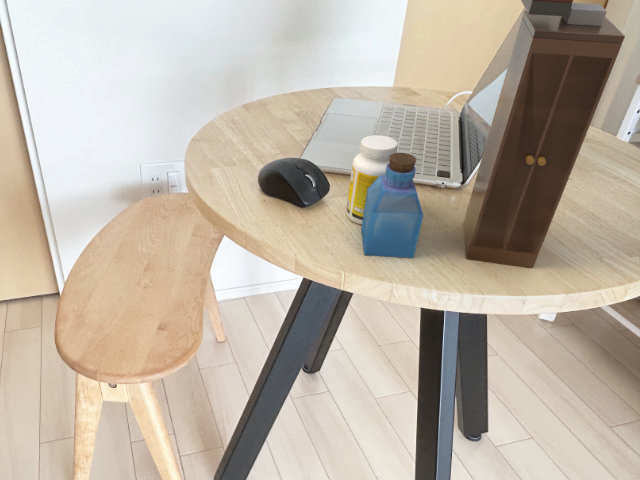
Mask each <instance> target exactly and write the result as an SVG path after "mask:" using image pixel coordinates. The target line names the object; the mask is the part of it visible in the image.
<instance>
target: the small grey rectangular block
mask: <svg viewBox="0 0 640 480" xmlns="http://www.w3.org/2000/svg"><path fill="white" fill-rule="evenodd" d="M607 12H608V10H606V9H605V8H604V7H603V6H602V5H601V4H598V3H583V2H582V3H581V2H572V6H571V9H570V12H569V15H568V16H562V18H563V20H564V21H565V22H566V23H567V24H572V25H588V26H602V23H603V20H604V18H605V17H606V14H607Z"/></svg>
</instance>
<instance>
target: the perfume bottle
mask: <svg viewBox="0 0 640 480" xmlns="http://www.w3.org/2000/svg"><path fill="white" fill-rule="evenodd" d="M389 160H390V163H389V164H387V167H386V172H385V175H386V176H379V177H378V178H377V179H376V180H375V182H374V183H373V184H372V185H371V186H370V187H369V188H368V190H367V196H366V203H365V209H364V215H363V222H362V225H361V229H360V230H361V241H362V248H363V256H372V257H374V256H375V257H390V258H406V259H407V258H408V259H414V257H415V253H416V250H417V244H418V240H419V236H420V231H421V227H422V222H423V218H424V213H423V209H422V206H421V205H422V204H421V202H420V198H419V194H418V192H417V188H416V185H415V180H414V178H415V175H416V170H417V169H416V167H415V165H416V162H417V157H416V156H415V155H412V154H410V153H407V152H397V153H394V154H391V155H390V157H389Z"/></svg>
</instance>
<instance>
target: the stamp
mask: <svg viewBox="0 0 640 480" xmlns="http://www.w3.org/2000/svg"><path fill="white" fill-rule="evenodd" d="M520 1H521V4H522V5H523V7H524V9H525V10H526V11H527V12H528V14H534V15H550V16H568V15H569V12H570V9H571V6H572V3H574V0H520Z"/></svg>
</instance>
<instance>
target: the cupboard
mask: <svg viewBox="0 0 640 480" xmlns="http://www.w3.org/2000/svg"><path fill="white" fill-rule="evenodd" d="M625 37H626V35H625V34H624V33H623V32H622V31H621V30H620V29H618V27H616V26H615V25H614V23H612V22H611V20H609V19H608V18H607V16H605V18H604V20H603V23H602V26H588V25H572V24H567V23H566V22H565V21H564V20H563V18H562V16H550V15H534V14H528V12H527V10H526V9H525V10H523V13H522V17H521V20H520V23H519V27H518V31H517V34H516V37H515V41H514V45H513V48H512V51H511V55H510V58H509V61H508V66H507V69H506V72H505V76H504V79H503V84H502V86H501V89H500V93H499V98H498V100H497V103H496V108H495V110H494V114H493V118H492V121H491V123H490V128H489V131H488V135H487V138H486V142H485V146H484V148H483V149H484V150H483V152H482V155H481V160H480V163H479V166H478V170H477V173H476V177H475V181H474V184H473V188H472V191H471V195H470V198H469V201H468V205H467V208H466V212H465V215H464V219H463V222H462V224H463V225H462V227H463V239H464V250H465V251H464V252H465V253H464V254H465V259H466V260H472V261H479V262H487V263H492V264H493V263H494V264H501V265H507V266H516V267H522V268H529V269H534V266H535V264H536V261H537V259H538V257H539V254H540V252H541V249H542V247H543V244H544V241H545V240H546V237H547V234H548V231H549V229H550V226H551V224H552V221H553V220H554V216H555V214H556V212H557V209H558V207H559V204H560V201H561V199H562V197H563V194H564V192H565V188H566V186H567V184H568V181H569V178H570V176H571V174H572V171H573V169H574V166H575V164H576V162H577V159H578V156H579V153H580V151H581V149H582V146H583V143H584V141H585V138H586V136H587V134H588V131H589V129H590V126H591V124H592V120H593V118H594V116H595V113H596V110H597V108H598V106H599V104H600V100H601V98H602V96H603V93H604V91H605V89H606V85H607V83H608V80H609V78H610V76H611V73H612V71H613V68H614V66H615V63H616V60H617V58H618V55H619V53H620V51H621V49H622V45H623V43H624V40H625Z"/></svg>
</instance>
